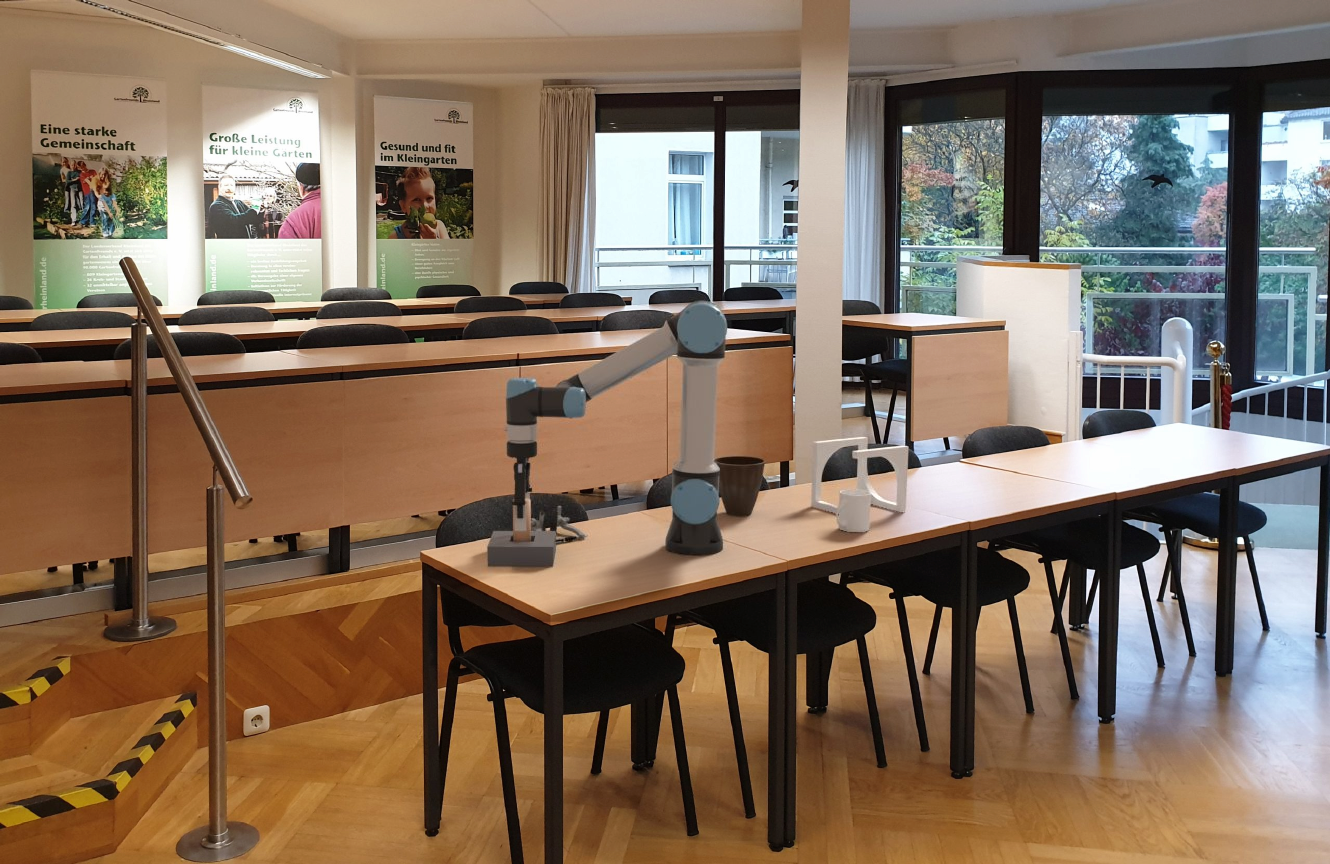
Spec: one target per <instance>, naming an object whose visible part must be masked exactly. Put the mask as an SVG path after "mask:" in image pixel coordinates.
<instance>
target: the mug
mask: <svg viewBox="0 0 1330 864" xmlns="http://www.w3.org/2000/svg"><path fill="white" fill-rule="evenodd" d="M838 502H839V503H838V505H837V506H838V507H837V513H836V514H835V515H836V516H835V517H836V523H837V525H838V529H839V530H840V531H841V530H843V531H842V532H844V531H847V532H846V533H849V532H863V533H866V531H867V532H868V531H870V530H869V529H870V525H871V524H870V521H871V504H870V502H871V493H870V492H869V491H865V490H858V489H857V488H855V489H853V488H850V489H842V490H840V491H839V500H838ZM838 513H839V515H838Z"/></svg>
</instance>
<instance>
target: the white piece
mask: <svg viewBox="0 0 1330 864" xmlns="http://www.w3.org/2000/svg"><path fill="white" fill-rule="evenodd" d="M868 440H869V437H866V436H859V437H857V436H856V437H849V438H848V437H847V438H838V439H829V440H818V441H817V440H816V441H813V442H812V463H811V464H812V465H811V467H812V468H811V470H812V471H811V497H810V500H811V501H810V506H811V508H816V509H818V508H819V509H818V510H821V509H822V511H825V510H826V511H825V512H828V511H829V512H828V513H831V512H833V513H832V514H834V513H835V515H836V513H837V507H838V505H837V504H833V503H829V502H826V501H822V498H821V497H822V478H823V477H822V476H823V472H824V468H825V466H826V464H827V462H828V461H829V459H830V458H831V457H832V455H833V454H834V453H836V452H837V451H838V450H840V449H843V448H845V447H852V446H857V450H852V456H851V458H852V459H857V470H856V471H857V472H856V474H857V475H856V489H858V490H865V491H869V492H870V493H871V502H870V505H871V504H873V505H872V506H875V505H877V506H876V507H878V506H879V507H878V508H882V507H883V509H885V508H887V510H889V509H891V510H890V511H892V510H896V511H899V512H903V511H906V510H907V491H908V489H907V487H908V470H909V469H908V468H909V467H908V466H909V446H907V445H898V446H896V445H895V446H887V447H879V448H869V449H868V445H869V443H868V442H869V441H868ZM877 457H881V458H885V459H886V460H887V461H888V462H889V463H890V465H891V466H892V467H893V469H894V472H895V474H896V484H897V485H896V501H894V502H893V501H891V500H886V499H884V498H883V497H881V496H880V495H879V494H878V493H877V492H876V491H875V489H874V488H873V486H872V484H871V482H870V478H869V474H868V458H877ZM896 511H895V512H896ZM899 512H898V513H899ZM903 513H904V512H903ZM838 514H839V513H838Z"/></svg>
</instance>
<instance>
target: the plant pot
mask: <svg viewBox="0 0 1330 864" xmlns="http://www.w3.org/2000/svg"><path fill="white" fill-rule="evenodd" d="M714 462H715V463H716V464H717V466H718V467H719V468H720V473H719V495H720V497H721V501H722V504H723V507H724V510H725V512H726V514H727V516H728V515H729V516H733V517H745V516H746V517H747V516H750V515H751V514H752V513H753V511H754V508H755V506H756V503H757V500H758V496H759V493H760V490H761V485H762V480H763V477H764V472H765V471H764V470H765V464H766V460H765V459H764V458H759V457H753V456H744V455H736V456H734V455H732V456H721V457H717V458H714Z"/></svg>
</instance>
